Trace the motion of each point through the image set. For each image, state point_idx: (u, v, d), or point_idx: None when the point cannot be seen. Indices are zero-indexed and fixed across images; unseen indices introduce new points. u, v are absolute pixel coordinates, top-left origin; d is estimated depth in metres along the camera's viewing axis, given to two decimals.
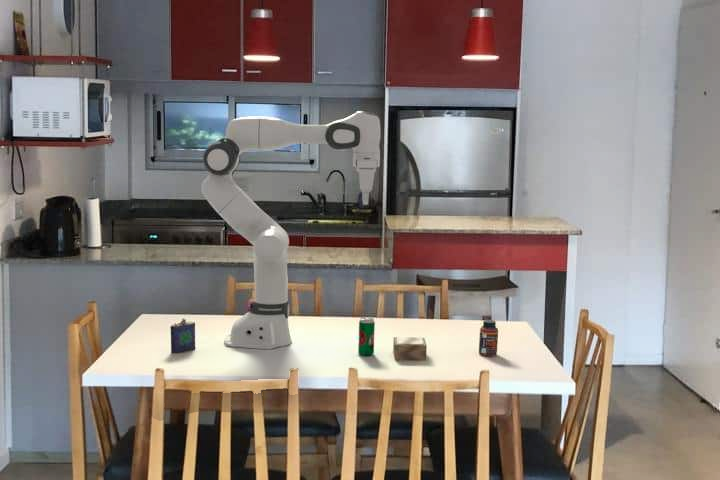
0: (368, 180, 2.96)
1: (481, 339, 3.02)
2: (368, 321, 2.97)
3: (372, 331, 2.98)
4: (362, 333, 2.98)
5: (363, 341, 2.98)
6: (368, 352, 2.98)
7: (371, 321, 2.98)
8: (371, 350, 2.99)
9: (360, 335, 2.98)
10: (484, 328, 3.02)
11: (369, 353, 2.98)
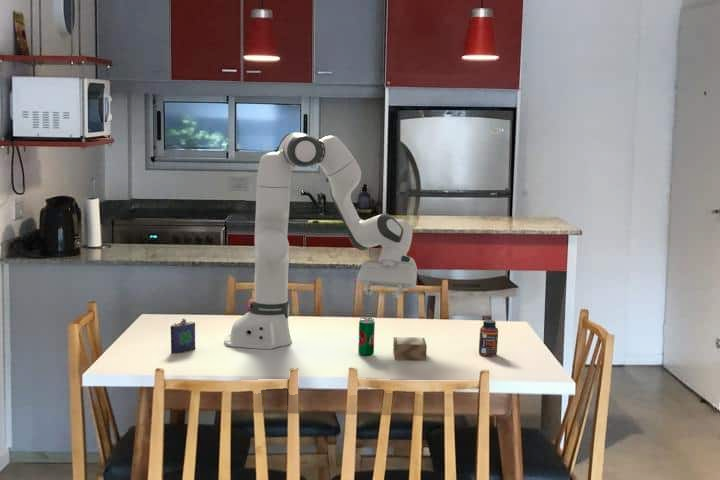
0: (415, 278, 3.11)
1: (481, 339, 3.02)
2: (368, 321, 2.97)
3: (372, 331, 2.98)
4: (362, 333, 2.98)
5: (363, 341, 2.98)
6: (368, 352, 2.98)
7: (371, 321, 2.98)
8: (371, 350, 2.99)
9: (360, 335, 2.98)
10: (484, 328, 3.02)
11: (369, 353, 2.98)
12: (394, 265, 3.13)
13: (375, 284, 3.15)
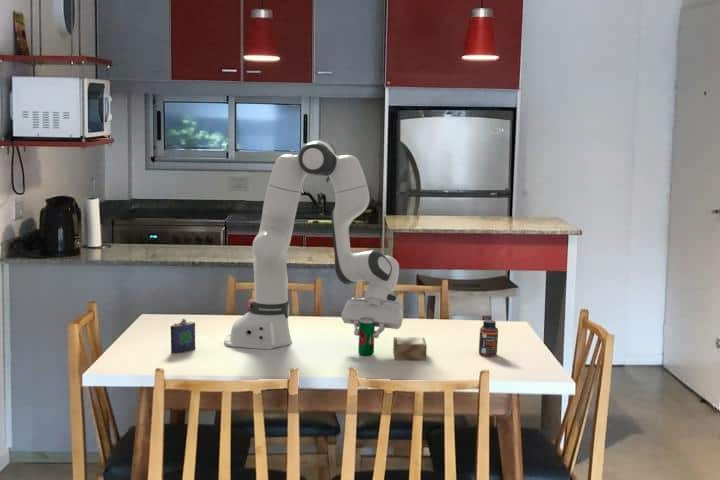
0: (401, 318, 3.01)
1: (481, 339, 3.02)
2: (368, 321, 2.97)
3: (372, 331, 2.98)
4: (362, 333, 2.98)
5: (363, 341, 2.98)
6: (368, 352, 2.98)
7: (371, 321, 2.98)
8: (371, 350, 2.99)
9: (360, 335, 2.98)
10: (484, 328, 3.02)
11: (369, 353, 2.99)
12: (380, 304, 3.03)
13: None
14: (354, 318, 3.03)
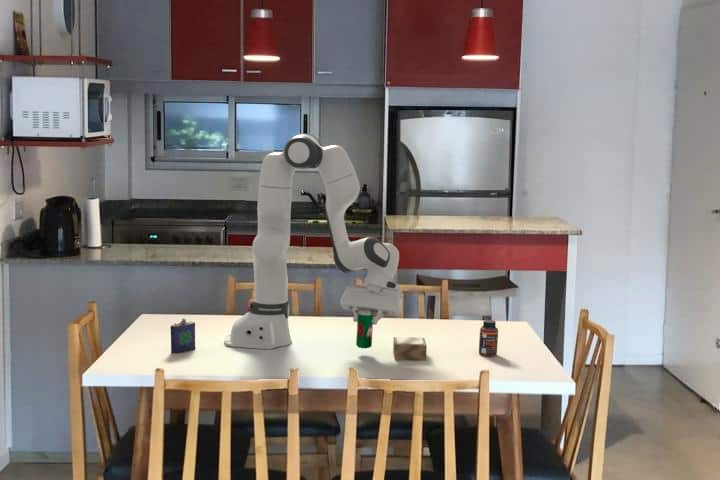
0: (400, 305, 3.00)
1: (481, 339, 3.02)
2: (366, 313, 2.97)
3: (370, 323, 2.98)
4: (360, 324, 2.97)
5: (361, 333, 2.98)
6: (366, 344, 2.98)
7: (369, 313, 2.97)
8: (369, 342, 2.98)
9: (359, 326, 2.98)
10: (484, 328, 3.02)
11: (367, 345, 2.98)
12: (379, 291, 3.02)
13: (358, 309, 3.04)
14: (353, 304, 3.02)
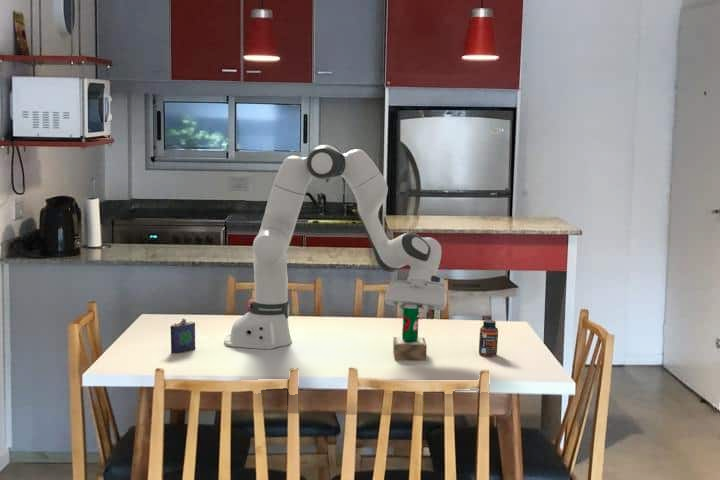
0: (446, 299, 2.99)
1: (481, 339, 3.02)
2: (412, 306, 2.96)
3: (416, 317, 2.97)
4: (406, 318, 2.96)
5: (407, 327, 2.97)
6: (412, 337, 2.97)
7: (415, 306, 2.96)
8: (415, 336, 2.97)
9: (404, 320, 2.97)
10: (484, 328, 3.02)
11: (413, 339, 2.97)
12: (423, 285, 3.01)
13: (403, 305, 3.03)
14: (398, 300, 3.01)
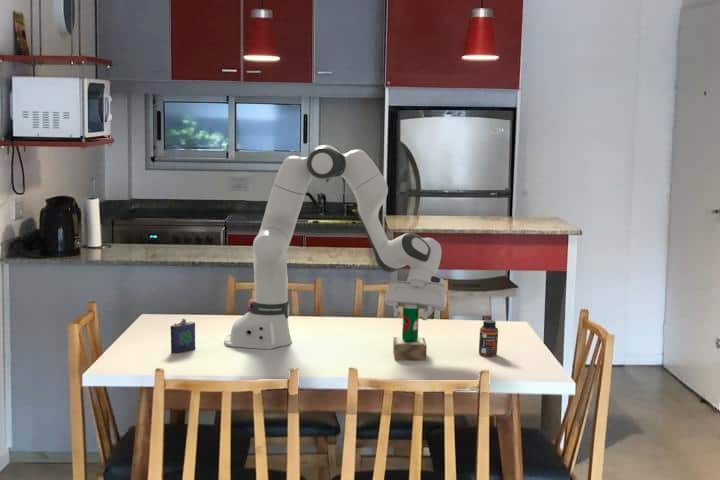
0: (445, 300, 2.99)
1: (481, 339, 3.02)
2: (412, 306, 2.96)
3: (416, 317, 2.97)
4: (406, 318, 2.96)
5: (407, 327, 2.97)
6: (412, 337, 2.97)
7: (415, 306, 2.96)
8: (415, 336, 2.97)
9: (404, 320, 2.97)
10: (484, 328, 3.02)
11: (413, 339, 2.97)
12: (423, 286, 3.01)
13: (403, 305, 3.03)
14: (398, 300, 3.01)
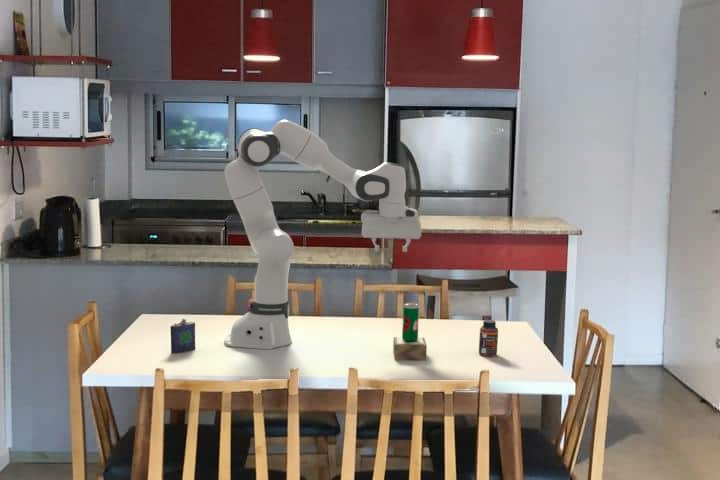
0: None
1: (481, 339, 3.02)
2: (412, 306, 2.96)
3: (416, 317, 2.97)
4: (406, 318, 2.96)
5: (407, 327, 2.97)
6: (412, 337, 2.97)
7: (415, 306, 2.96)
8: (415, 336, 2.97)
9: (404, 320, 2.97)
10: (484, 328, 3.02)
11: (413, 339, 2.97)
12: (398, 219, 3.12)
13: None
14: (376, 237, 3.13)
